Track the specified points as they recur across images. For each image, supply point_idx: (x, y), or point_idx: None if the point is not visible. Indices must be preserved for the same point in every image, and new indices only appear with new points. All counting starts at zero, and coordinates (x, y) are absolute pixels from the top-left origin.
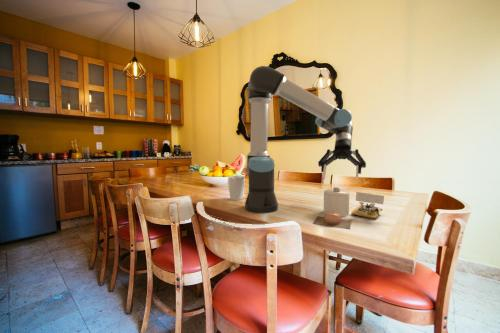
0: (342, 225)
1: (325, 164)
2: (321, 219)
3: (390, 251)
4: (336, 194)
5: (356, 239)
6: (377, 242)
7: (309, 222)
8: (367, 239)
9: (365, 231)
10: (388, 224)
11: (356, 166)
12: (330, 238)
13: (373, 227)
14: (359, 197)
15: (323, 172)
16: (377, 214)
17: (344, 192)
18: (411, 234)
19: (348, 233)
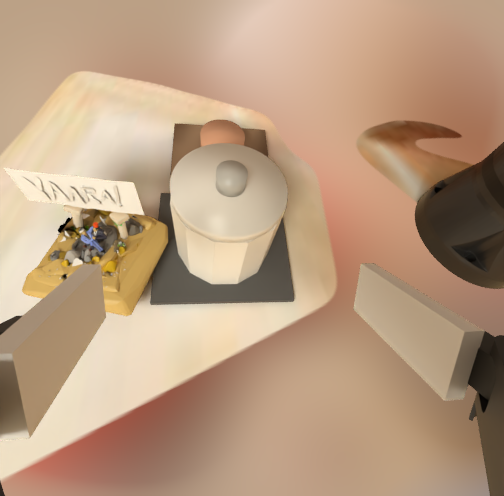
0: (193, 139)
1: (469, 331)
2: None
3: (105, 79)
4: (223, 145)
5: (162, 106)
6: (120, 104)
7: (280, 164)
8: (139, 111)
9: (136, 148)
10: (49, 219)
11: (29, 335)
12: (213, 99)
13: (108, 179)
14: (124, 201)
15: (389, 275)
16: (71, 218)
17: (192, 174)
18: (13, 161)
19: None
